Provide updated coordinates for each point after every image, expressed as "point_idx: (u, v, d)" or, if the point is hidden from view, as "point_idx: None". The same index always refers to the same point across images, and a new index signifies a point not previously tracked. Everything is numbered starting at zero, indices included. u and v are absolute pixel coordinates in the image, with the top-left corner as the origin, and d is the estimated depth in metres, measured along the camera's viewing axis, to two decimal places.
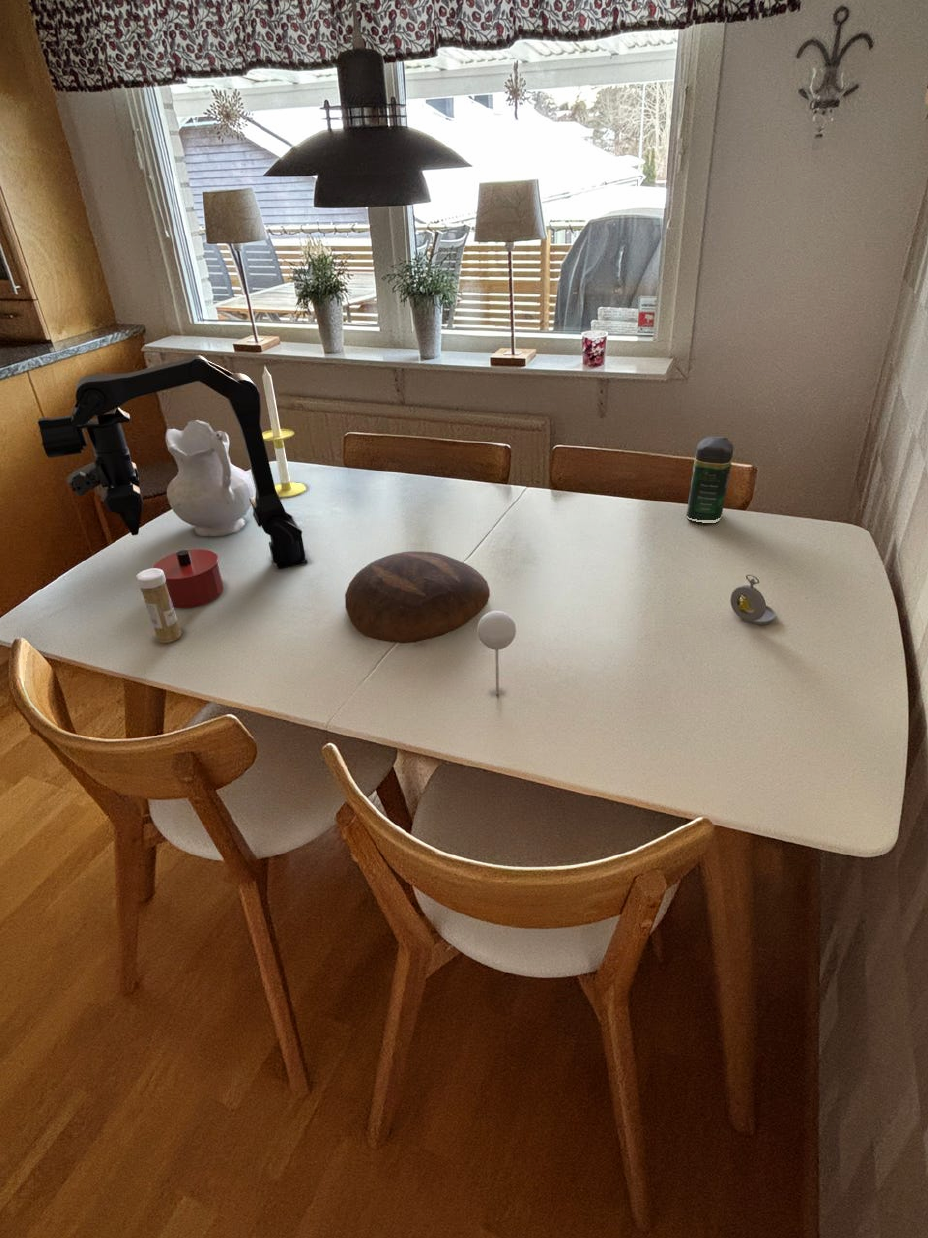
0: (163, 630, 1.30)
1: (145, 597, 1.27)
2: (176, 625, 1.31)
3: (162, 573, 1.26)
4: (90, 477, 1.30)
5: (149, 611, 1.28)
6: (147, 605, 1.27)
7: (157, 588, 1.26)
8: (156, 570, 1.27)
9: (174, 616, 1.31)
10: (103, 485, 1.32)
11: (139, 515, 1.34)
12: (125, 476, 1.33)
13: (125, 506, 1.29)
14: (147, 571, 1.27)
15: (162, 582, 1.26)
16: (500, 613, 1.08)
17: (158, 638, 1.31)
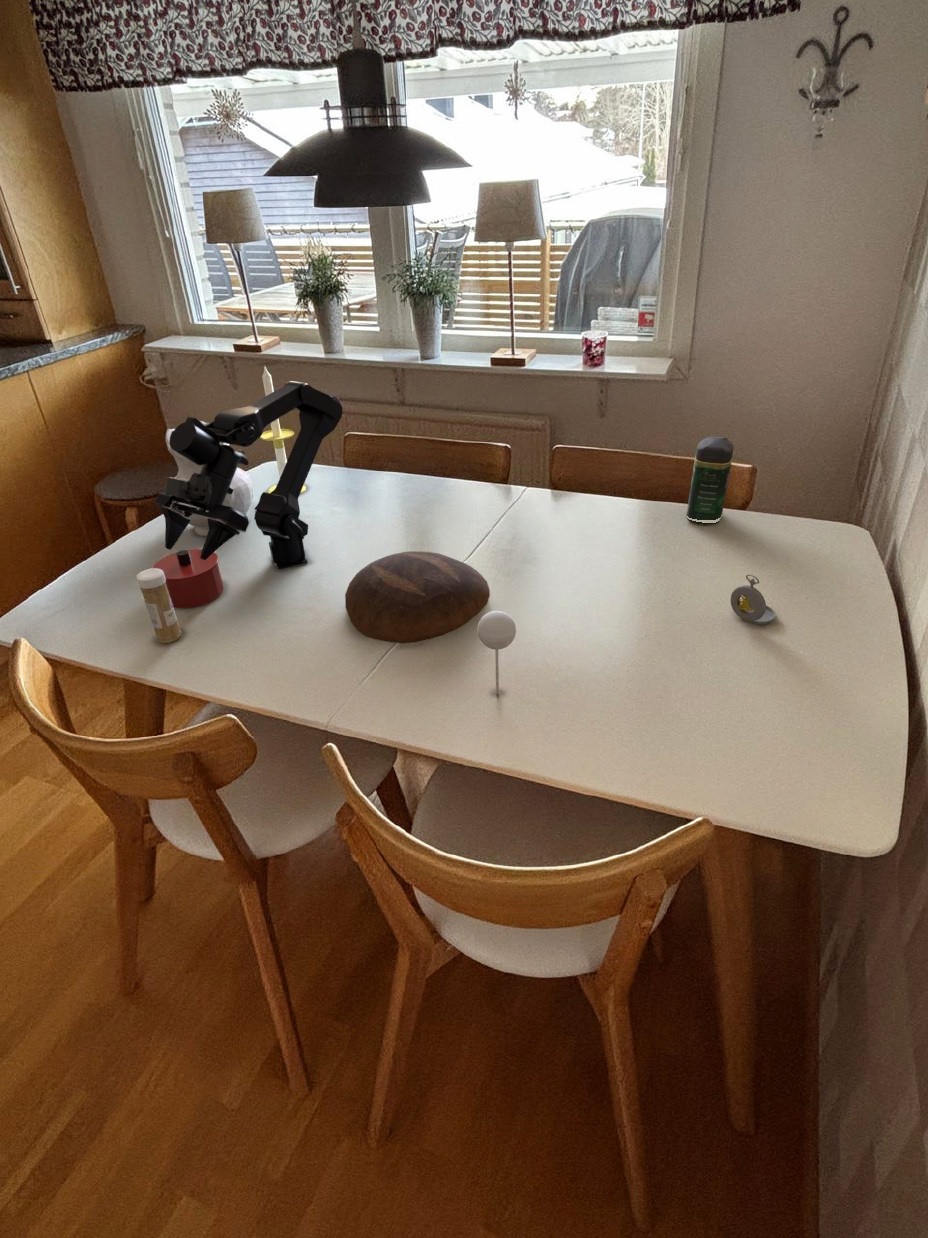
0: (163, 630, 1.30)
1: (145, 597, 1.27)
2: (176, 625, 1.31)
3: (162, 573, 1.26)
4: None
5: (149, 611, 1.28)
6: (147, 605, 1.27)
7: (157, 588, 1.26)
8: (156, 570, 1.27)
9: (174, 616, 1.31)
10: (205, 501, 1.29)
11: (223, 542, 1.31)
12: (220, 505, 1.33)
13: (237, 525, 1.29)
14: (147, 571, 1.27)
15: (162, 582, 1.26)
16: (500, 613, 1.08)
17: (158, 638, 1.31)
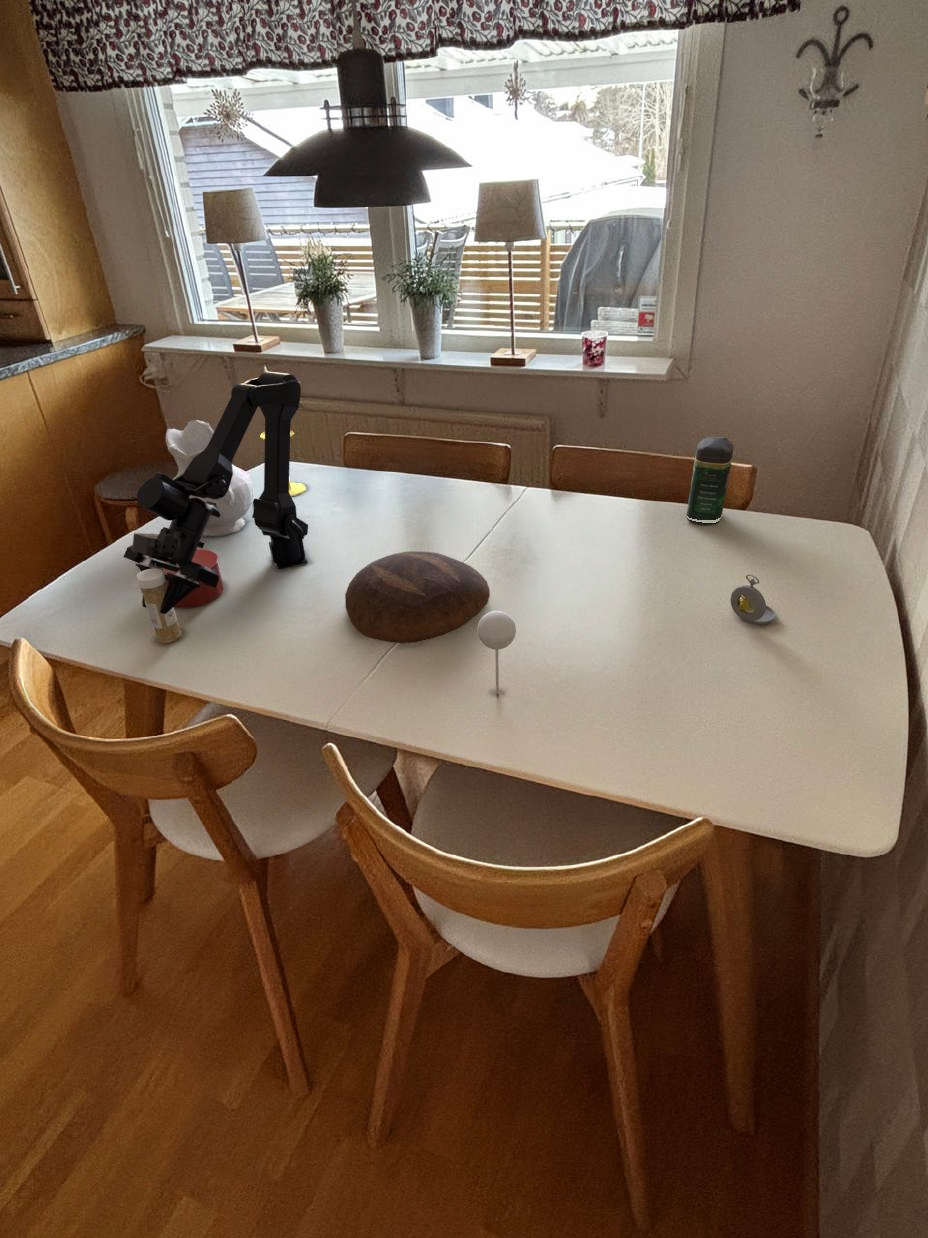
0: (163, 630, 1.30)
1: (145, 597, 1.27)
2: (176, 625, 1.31)
3: (162, 573, 1.26)
4: None
5: (149, 611, 1.28)
6: (147, 605, 1.27)
7: (157, 588, 1.26)
8: (156, 570, 1.27)
9: (174, 616, 1.31)
10: (174, 557, 1.26)
11: (184, 596, 1.29)
12: (191, 560, 1.30)
13: (206, 582, 1.26)
14: (147, 571, 1.27)
15: (162, 582, 1.26)
16: (500, 613, 1.08)
17: (158, 638, 1.31)
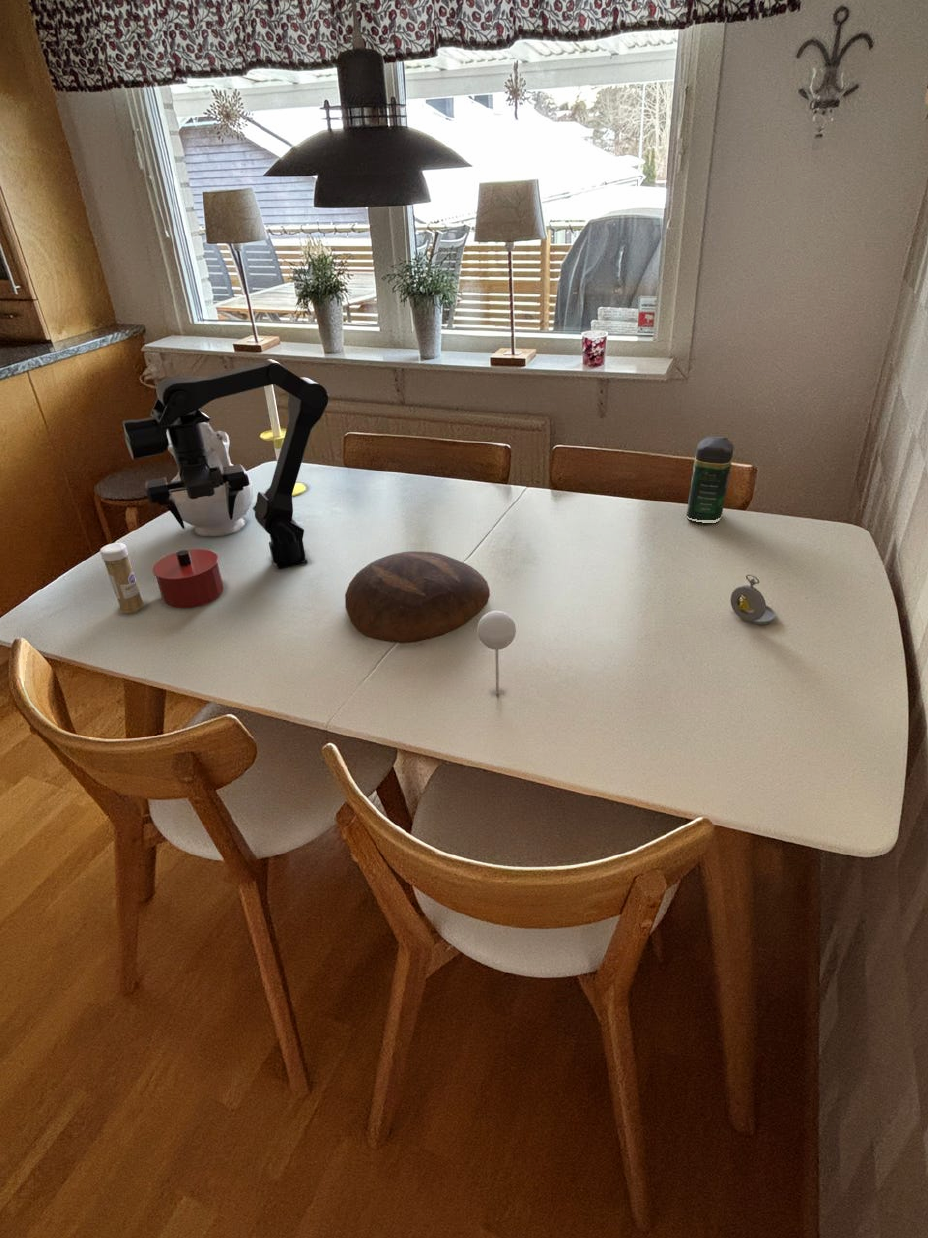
0: (121, 601, 1.40)
1: None
2: (134, 599, 1.40)
3: (121, 549, 1.35)
4: None
5: None
6: None
7: (114, 562, 1.35)
8: (120, 545, 1.36)
9: (133, 591, 1.39)
10: None
11: None
12: None
13: None
14: (113, 545, 1.36)
15: (119, 558, 1.35)
16: (500, 613, 1.08)
17: (120, 607, 1.41)
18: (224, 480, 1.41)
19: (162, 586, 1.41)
